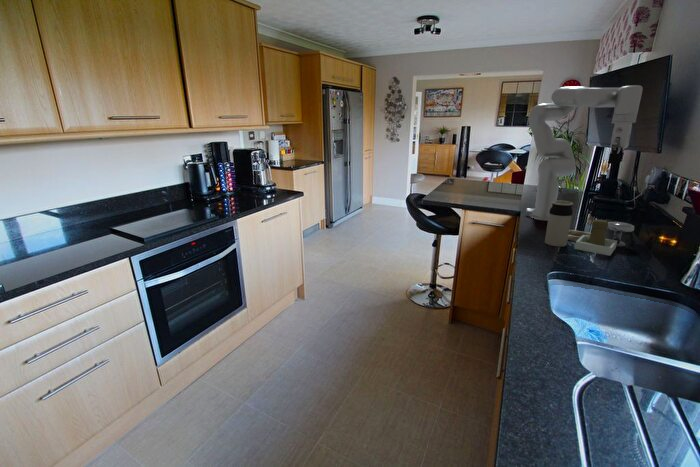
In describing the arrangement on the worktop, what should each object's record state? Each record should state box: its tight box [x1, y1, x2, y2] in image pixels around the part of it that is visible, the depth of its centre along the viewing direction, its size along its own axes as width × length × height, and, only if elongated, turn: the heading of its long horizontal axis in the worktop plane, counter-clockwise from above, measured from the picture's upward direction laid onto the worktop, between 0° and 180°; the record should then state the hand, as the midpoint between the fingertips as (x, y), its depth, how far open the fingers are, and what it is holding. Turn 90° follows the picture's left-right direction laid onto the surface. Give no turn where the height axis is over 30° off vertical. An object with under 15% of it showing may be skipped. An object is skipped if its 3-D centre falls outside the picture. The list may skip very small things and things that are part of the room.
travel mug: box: [544, 199, 574, 248], centre depth 136 cm, size 8×8×18 cm
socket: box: [567, 229, 591, 242], centre depth 144 cm, size 10×10×2 cm
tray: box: [574, 235, 617, 256], centre depth 132 cm, size 12×12×3 cm
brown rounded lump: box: [587, 219, 609, 246], centre depth 131 cm, size 6×6×11 cm
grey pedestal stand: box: [606, 221, 635, 248], centre depth 135 cm, size 9×9×9 cm
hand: (614, 162), depth 137 cm, fingers open, 9 cm apart
